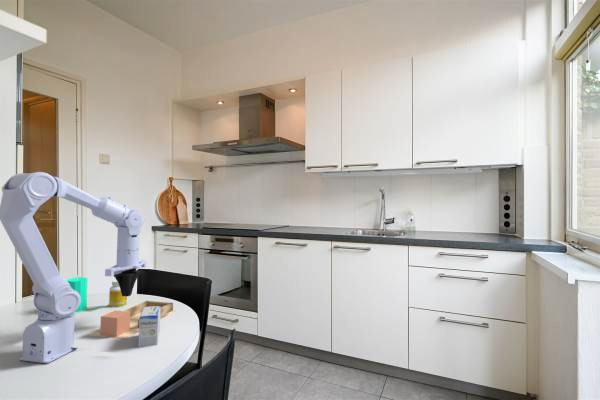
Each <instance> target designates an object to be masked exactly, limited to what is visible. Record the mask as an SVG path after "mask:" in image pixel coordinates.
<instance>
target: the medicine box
mask: <svg viewBox="0 0 600 400" xmlns="http://www.w3.org/2000/svg"><path fill="white" fill-rule="evenodd" d="M160 312H161V308H160V306H151V307H144V308H143V310H142V313H141V315H140V319H139V332H138V348H144V347H152V346H158V343H159V336H160V331H161V330H160V329H161V319H160Z"/></svg>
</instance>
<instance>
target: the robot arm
mask: <svg viewBox="0 0 600 400" xmlns="http://www.w3.org/2000/svg"><path fill="white" fill-rule="evenodd" d="M1 192H2V195H1V201H0V222H1V224H2V226H3V228H4V231H5V232H6V233H7V236H8V237H9V239H10V241H11V243H12V246H13V247H14V249H15V251H16V253H17V255H18V257H19V258H20V260H21V262H22V264H23V266H24V269H25V270H26V272H27V274H28V276H29V277H30V280H31V281H32V284H33V285H32V286H31V287H32V288H31V291H32V292H33V305H34V307H35V308H36V309H37V310H38V314H37V319H36V320H35V321H34V322H32V323H30V324H29V325H27V326H26V327H25V329H24V330H23V334H22V353H21V355H22V356H20V357H19V361H25V362H32V363H33V362H34V363H39V364H40V363H41V364H42V363H43V364H49V363H51V362H53V361H56V360H57V359H60V358H62V357H63V356H65V355H68V354H69V353H71V352H73V351H75V350H77V349H78V347H73V346H74V344H75V320H76V319H75V317H76V312H75V311H76V310H77V309H78V307H79V306H80V303H81V297H80V294H79V293H78V292H77V291H75V290H73V289H72V288H71V286H70V284H69V283H68V282H67V279H65V278H64V277H63V276H62V275H61V273H60V271H59V269H58V267H57V265H56V262H55V261H54V258H53V256H52V255H51V252H50V251H49V249H48V246H47V244H46V242H45V240H44V238H43V236H42V234H41V232H40V230H39V228H38V226H37V223H36V222H35V219H34V218H33V216H34V215H35V213H37V210H39V208H40V206H42V205H43V204H44V203H46V202H47V201H48V200H50V199H51V198H61V199H64V200H66V201H68V202H69V201H70V202H72V203H74V204H77V205H79V206H82V207H85V208H88V209H89V210H90V211H91V214H92V215H93V216H94V217H97V218H99V219H101V220H103V221H106V222H109V223H111V224H113V225H114V226H115V228H117V237H116V238H117V239H116V240H117V241H116V244H117V246H116V262H115V265H113V266H111V267H108V268H105V269H104V276H105V277H114V278H115V280H117V282H118V284H119V286H120V290H121V294H122V296H127V297H130V296H132V293H133V291H134V290H133V289H134V286H135V284H136V281H137V280H138V277H139V276H140V274H141V270H140V269H142V268H147V265H148V264H147V263H148V261H147V260H139V255H140V253H139V251H140V250H139V249H140V233H141V229H142V227H143V225H144V223H145V219H144V217H143V214H142V213H141V212H140V211H139V210H137V209H129V206H128V205H126V204H120V203H119V202H117V201H115V198H114V197H111V196H108V197H106V196H104V197H100V198H98V197H96V196H94V195H92V194H90V193H88V192H86V191H84V190H83V189H81V188H79V187H77V186H75V185H73V184H71V183H69V182H68V181H65V180H63V179H62V178H60V177H57V176H52V175H50V174H49V173H47V172H45V171H43V172H42V171H36V172H32V173H31V172H29V173H17V174H14V175H12V176H11V177H10V178H9V179H7V181H6V182H5V183H4V184H3V185H2V186H1Z"/></svg>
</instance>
